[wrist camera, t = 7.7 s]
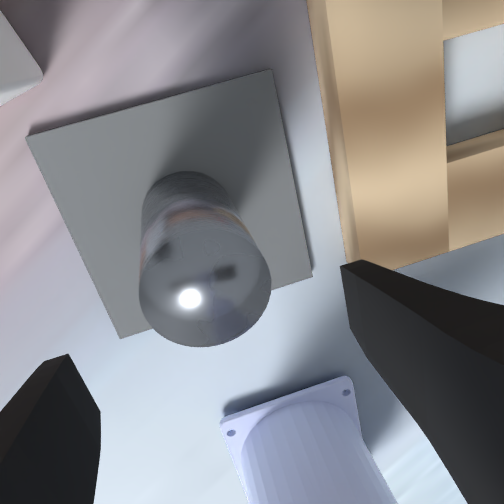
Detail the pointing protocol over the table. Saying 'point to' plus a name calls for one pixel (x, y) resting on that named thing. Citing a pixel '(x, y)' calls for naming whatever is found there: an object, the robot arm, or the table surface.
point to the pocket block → (403, 129)
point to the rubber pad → (167, 162)
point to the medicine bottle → (15, 64)
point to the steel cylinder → (198, 263)
